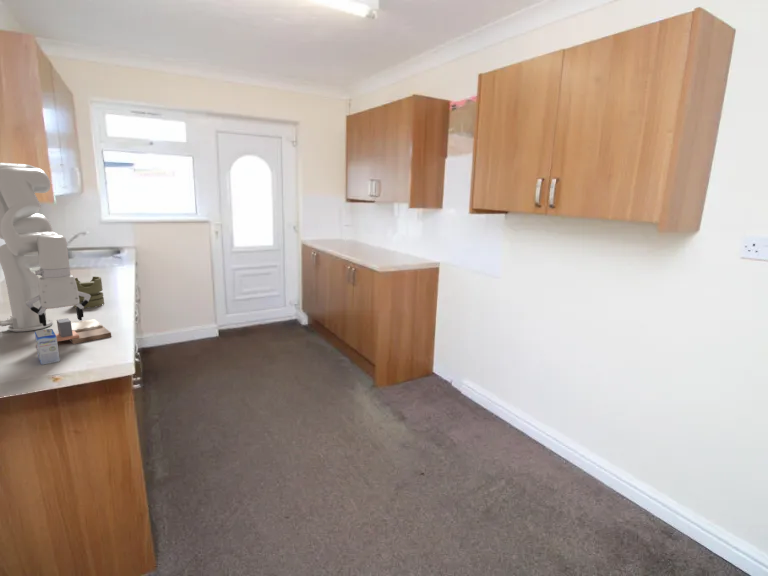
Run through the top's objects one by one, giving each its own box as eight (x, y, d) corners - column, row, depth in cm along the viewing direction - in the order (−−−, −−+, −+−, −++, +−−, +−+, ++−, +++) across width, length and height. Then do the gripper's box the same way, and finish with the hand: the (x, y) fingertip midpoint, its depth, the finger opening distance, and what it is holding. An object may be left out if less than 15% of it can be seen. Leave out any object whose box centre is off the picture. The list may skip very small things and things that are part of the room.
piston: (69, 278, 185) (99, 275, 192) (73, 304, 187) (103, 300, 194) (70, 282, 176) (102, 279, 183) (74, 309, 179) (105, 305, 185)
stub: (41, 344, 133) (38, 327, 132) (37, 339, 138) (35, 322, 136) (79, 337, 140) (76, 321, 139) (74, 332, 145) (72, 316, 143)
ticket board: (73, 344, 138) (72, 337, 138) (61, 330, 152) (60, 324, 151) (111, 336, 146) (110, 330, 146) (96, 324, 159) (95, 318, 159)
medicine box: (38, 357, 126) (33, 330, 125) (56, 354, 129) (52, 327, 128) (41, 365, 121) (36, 337, 119) (60, 361, 124) (56, 334, 122)
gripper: (23, 277, 127) (31, 330, 131) (90, 272, 139) (95, 320, 143) (19, 273, 132) (27, 324, 136) (84, 268, 144) (90, 315, 148)
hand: (62, 322), depth 140 cm, fingers open, 9 cm apart
